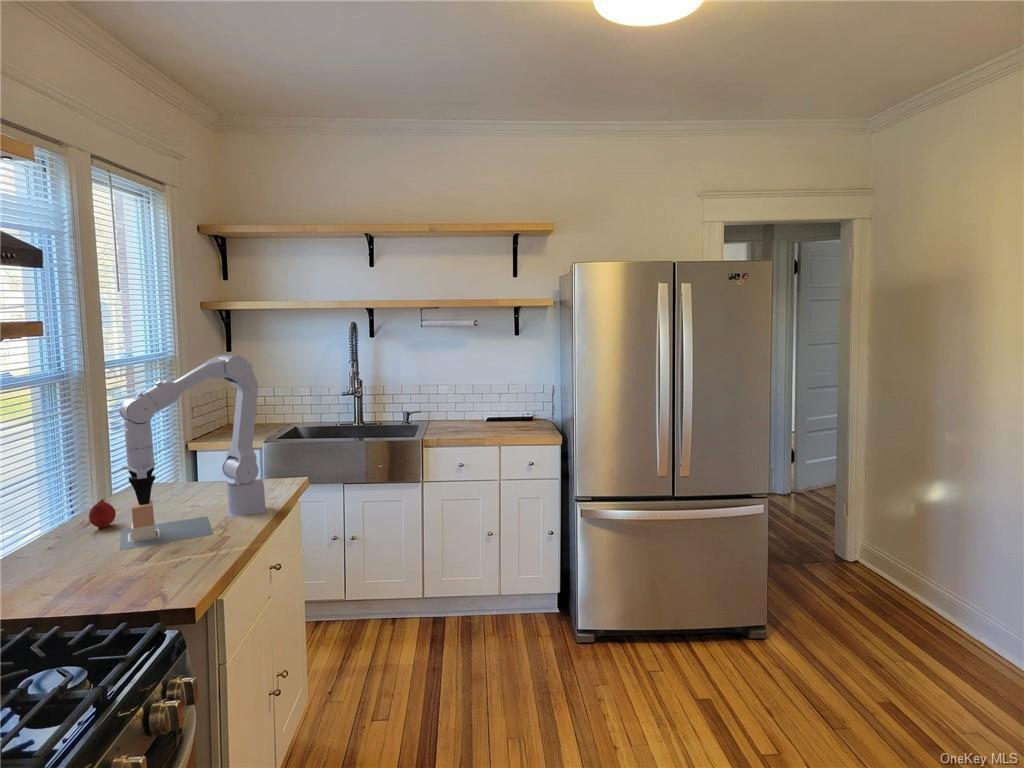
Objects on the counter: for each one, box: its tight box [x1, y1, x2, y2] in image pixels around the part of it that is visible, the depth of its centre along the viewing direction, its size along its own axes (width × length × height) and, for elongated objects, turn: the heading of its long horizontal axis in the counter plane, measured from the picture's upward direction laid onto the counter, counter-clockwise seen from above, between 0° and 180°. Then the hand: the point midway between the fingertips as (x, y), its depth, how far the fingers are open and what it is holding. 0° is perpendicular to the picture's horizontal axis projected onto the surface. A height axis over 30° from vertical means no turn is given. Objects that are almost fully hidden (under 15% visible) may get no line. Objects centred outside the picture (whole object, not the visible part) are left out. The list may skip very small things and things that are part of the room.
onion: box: [88, 498, 116, 529], centre depth 166 cm, size 6×6×8 cm
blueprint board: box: [119, 516, 214, 551], centre depth 162 cm, size 20×16×4 cm
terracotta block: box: [131, 500, 155, 528], centre depth 159 cm, size 4×4×5 cm
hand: (144, 500), depth 159 cm, fingers open, 7 cm apart
